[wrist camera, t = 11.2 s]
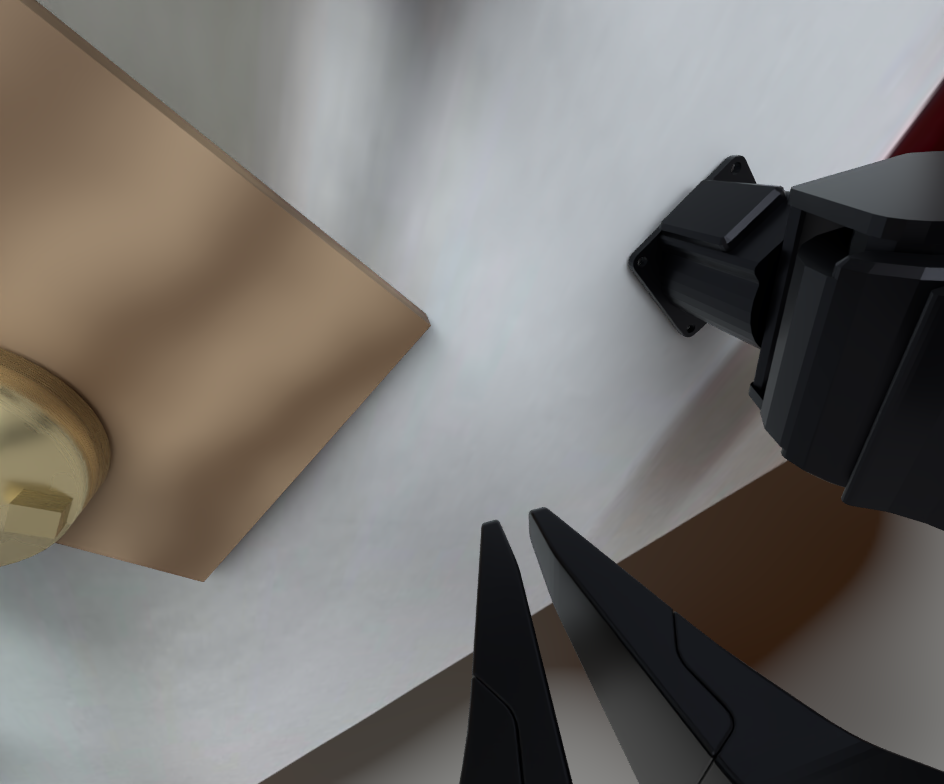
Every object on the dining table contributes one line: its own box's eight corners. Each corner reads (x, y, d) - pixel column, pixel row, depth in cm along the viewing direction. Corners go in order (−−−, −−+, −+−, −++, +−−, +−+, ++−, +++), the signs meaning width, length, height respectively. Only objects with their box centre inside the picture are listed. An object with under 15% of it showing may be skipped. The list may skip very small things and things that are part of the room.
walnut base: (425, 313, 19) (430, 325, 18) (211, 558, 23) (203, 582, 22) (-21, -45, 11) (-69, -69, 10) (-220, 430, 15) (-271, 455, 14)
